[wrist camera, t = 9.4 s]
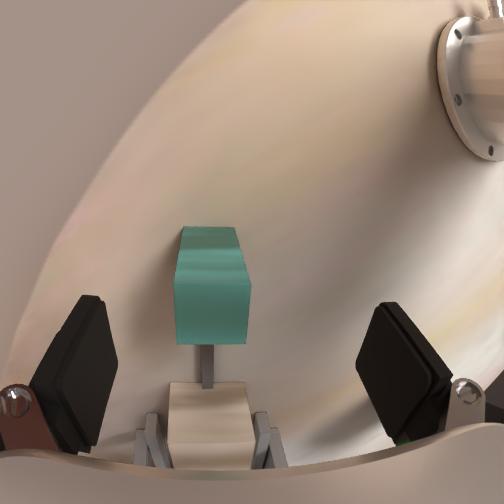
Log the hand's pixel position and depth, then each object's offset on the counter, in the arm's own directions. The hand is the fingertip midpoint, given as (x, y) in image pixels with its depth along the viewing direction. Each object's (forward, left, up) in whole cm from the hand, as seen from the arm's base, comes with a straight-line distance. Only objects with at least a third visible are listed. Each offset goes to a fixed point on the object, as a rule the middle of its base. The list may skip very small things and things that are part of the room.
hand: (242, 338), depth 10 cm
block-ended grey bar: (+9, -1, -9) cm, 13 cm away
